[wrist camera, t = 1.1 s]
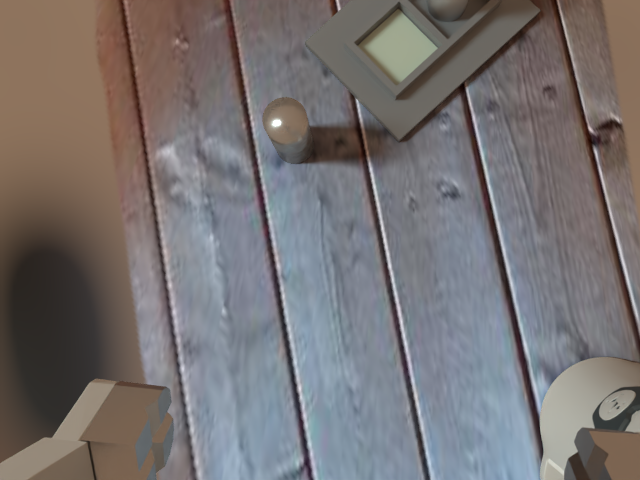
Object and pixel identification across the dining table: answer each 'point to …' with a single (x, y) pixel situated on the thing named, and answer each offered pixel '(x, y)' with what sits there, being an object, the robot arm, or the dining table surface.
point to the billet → (288, 130)
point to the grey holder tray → (413, 51)
